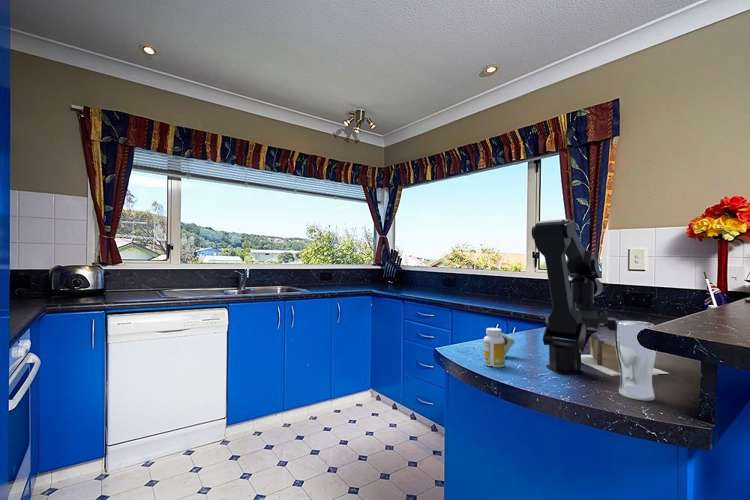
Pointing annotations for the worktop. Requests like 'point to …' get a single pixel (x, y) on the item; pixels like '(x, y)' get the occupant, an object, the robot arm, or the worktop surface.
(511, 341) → the pig figurine
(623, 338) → the beer glass
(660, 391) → the worktop surface
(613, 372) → the card
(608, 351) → the fixed fence
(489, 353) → the supplement bottle
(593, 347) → the fence panel
